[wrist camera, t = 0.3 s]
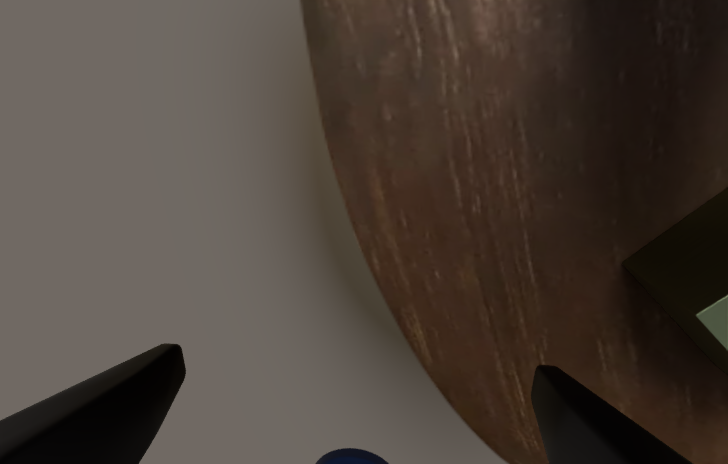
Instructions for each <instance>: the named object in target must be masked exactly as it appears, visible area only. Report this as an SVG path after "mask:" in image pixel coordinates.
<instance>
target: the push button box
mask: <svg viewBox="0 0 728 464" xmlns="http://www.w3.org/2000/svg"><path fill="white" fill-rule="evenodd" d="M622 264H623V265H624V266H625V268H626V269H627V270H628V271H629V272H630V273H631V274H632V275H633V276H634V277H635V278H636V279H637V281H638V282H639V283H640V284H641V285H642V286H643V287H644V288H645V289H646V290H647V291H648V292H649V294H650V295H651V296H652V297H653V298H654V299H655V300H656V301H657V302H658V303H659V304H660V305H661V307H662V308H663V309H664V310H665V311H666V312H667V313H668V314H669V315H670V316H671V317H672V318H673V320H674V321H675V322H676V323H677V324H678V325H679V326H680V327H681V328H682V329H683V330H684V331H685V333H686V334H687V335H688V336H689V337H690V338H691V339H692V340H693V341H694V342H695V343H696V344H697V346H698V347H699V348H700V349H701V350H702V351H703V352H704V353H705V354H706V355H707V356H708V357H709V358H710V360H711V361H712V362H713V363H714V364H715V365H716V366H717V367H719V368H720V369H721V370H722V371H723V372H725V373H726V374H727V375H728V188H727V189H725V190H724V191H722V192H721V193H720V194H718V195H717V196H715V197H714V198H712V199H711V200H710V201H708V202H707V203H705V204H704V205H703V206H701V207H700V208H698V209H697V210H696V211H694V212H693V213H691V214H690V215H689V216H687V217H686V218H684V219H683V220H682V221H680V222H679V223H677V224H676V225H674V226H673V227H672V228H670V229H669V230H667V231H666V232H665V233H663V234H662V235H660V236H659V237H658V238H656V239H655V240H653V241H652V242H651V243H649V244H648V245H646V246H645V247H643V248H642V249H641V250H639V251H638V252H636V253H635V254H634V255H632V256H631V257H629V258H628V259H627V260H625V261H624V262H622Z"/></svg>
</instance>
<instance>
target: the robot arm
mask: <svg viewBox="0 0 728 464" xmlns="http://www.w3.org/2000/svg"><path fill="white" fill-rule="evenodd" d="M185 374H186V368H185V364H184V359H183V353H182V349H181V347H180V345H178V344H161V345H159V346H157V347H155V348H153V349H151V350H148V351H147V352H144V353H142V354H140V355H138V356H136V357H134V358H132V359H130V360H127V361H125V362H123V363H121V364H119V365H117V366H114V367H112V368H110V369H108V370H106V371H104V372H102V373H100V374H98V375H95V376H93V377H92V378H89V379H87V380H85V381H83V382H81V383H79V384H76V385H75V386H72V387H70V388H68V389H66V390H64V391H62V392H60V393H57V394H55V395H53V396H51V397H49V398H47V399H45V400H43V401H41V402H39V403H36V404H34V405H32V406H30V407H28V408H26V409H24V410H22V411H20V412H17V413H15V414H13V415H11V416H9V417H7V418H5V419H3V420H1V421H0V464H139V462H140V460H141V459H142V457H143V456H144V454H145V453H146V451H147V449H148V448H149V446H150V444H151V443H152V441H153V439H154V438H155V436H156V434H157V432H158V430H159V428H160V426H161V424H162V423H163V421H164V419H165V417H166V415H167V412H168V411H169V409H170V407H171V405H172V403H173V401H174V399H175V396H176V395H177V393H178V391H179V389H180V387H181V385H182V383H183V381H184V378H185ZM531 400H532V404H533V408H534V412H535V415H536V419H537V422H538V426H539V429H540V433H541V436H542V440H543V443H544V447H545V450H546V454H547V457H548V461H549V464H693V463H691V462H690V461H689V460H687V459H686V458H684V457H683V456H681V455H680V454H679V453H677V452H676V451H674V450H673V449H672V448H670V447H669V446H667V445H666V444H665V443H663V442H662V441H660V440H659V439H658V438H656V437H655V436H653V435H652V434H651V433H649V432H648V431H646V430H645V429H644V428H642V427H641V426H639V425H638V424H637V423H635V422H634V421H632V420H631V419H630V418H628V417H627V416H625V415H624V414H623V413H621V412H620V411H618V410H617V409H616V408H614V407H613V406H611V405H610V404H608V403H607V402H606V401H604V400H603V399H601V398H600V397H599V396H597V395H596V394H594V393H593V392H592V391H590V390H589V389H587V388H586V387H585V386H583V385H582V384H580V383H579V382H578V381H576V380H575V379H573V378H572V377H571V376H569V375H568V374H566V373H565V372H564V371H562V370H561V369H559V368H558V367H556V366H549V365H539V366H537V368H536V370H535V375H534V380H533V386H532V391H531Z"/></svg>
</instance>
